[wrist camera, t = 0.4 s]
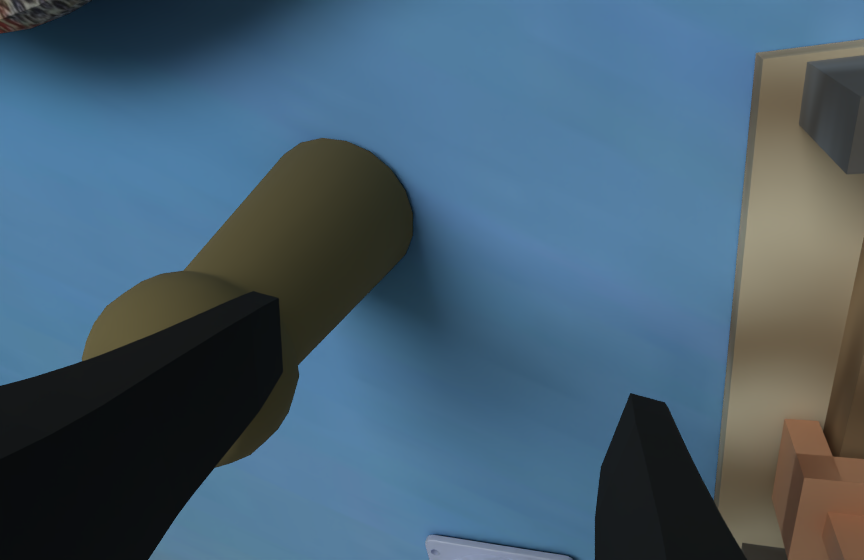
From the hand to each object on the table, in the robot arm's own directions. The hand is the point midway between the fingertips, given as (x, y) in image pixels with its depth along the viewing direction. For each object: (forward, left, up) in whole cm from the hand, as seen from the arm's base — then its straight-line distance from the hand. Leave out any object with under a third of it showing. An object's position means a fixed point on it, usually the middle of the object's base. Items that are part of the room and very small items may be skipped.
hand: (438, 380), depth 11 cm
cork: (0, +7, -10) cm, 12 cm away
